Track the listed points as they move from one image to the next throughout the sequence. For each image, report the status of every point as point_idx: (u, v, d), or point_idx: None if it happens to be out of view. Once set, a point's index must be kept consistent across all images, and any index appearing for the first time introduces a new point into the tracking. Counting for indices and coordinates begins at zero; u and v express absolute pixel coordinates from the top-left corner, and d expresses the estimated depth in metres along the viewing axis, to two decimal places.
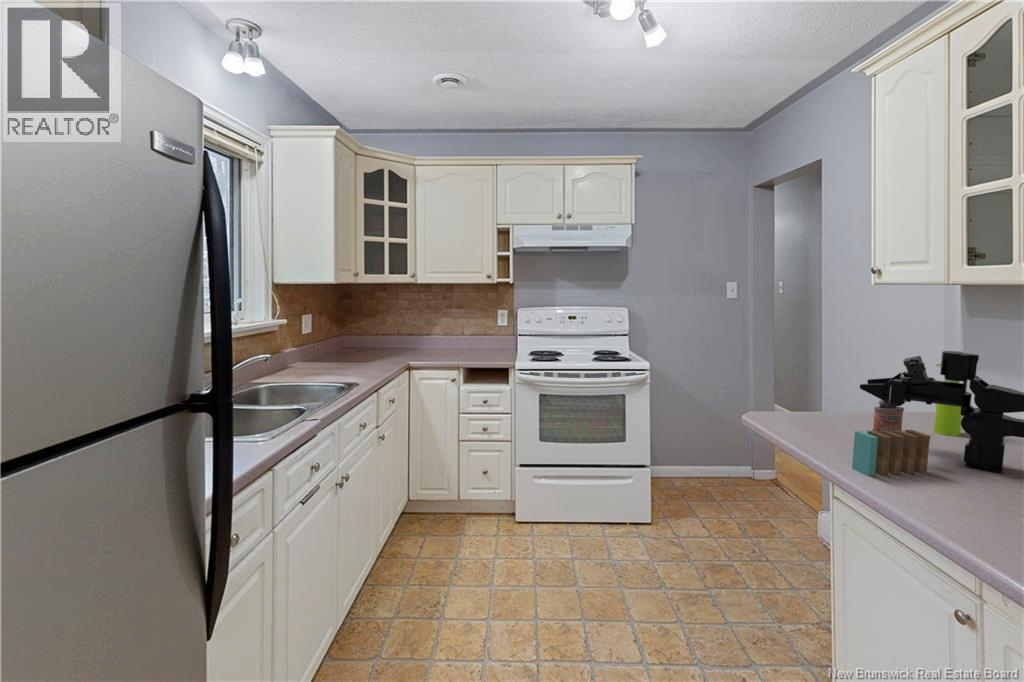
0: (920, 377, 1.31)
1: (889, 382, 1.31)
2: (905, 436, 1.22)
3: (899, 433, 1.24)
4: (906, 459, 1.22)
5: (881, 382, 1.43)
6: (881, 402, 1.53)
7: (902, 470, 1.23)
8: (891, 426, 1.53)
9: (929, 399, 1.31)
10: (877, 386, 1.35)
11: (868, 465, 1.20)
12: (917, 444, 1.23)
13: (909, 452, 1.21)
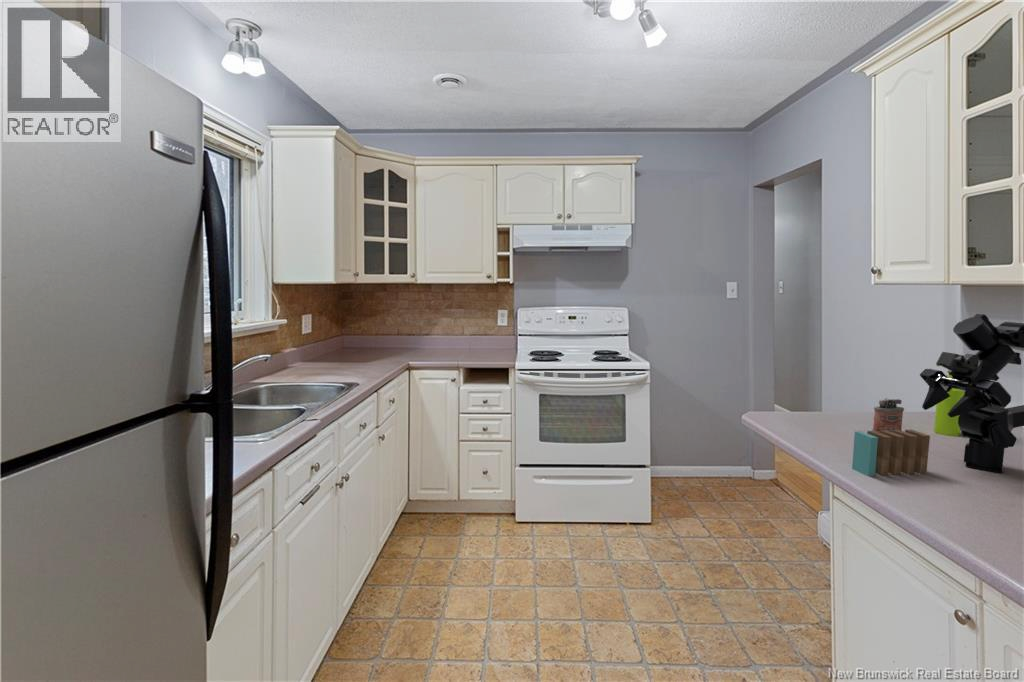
0: None
1: (978, 390, 1.17)
2: (905, 436, 1.22)
3: (899, 433, 1.24)
4: (906, 459, 1.22)
5: (932, 398, 1.27)
6: (881, 402, 1.53)
7: (902, 470, 1.23)
8: (891, 426, 1.53)
9: (995, 375, 1.21)
10: (965, 402, 1.19)
11: (868, 465, 1.20)
12: (917, 444, 1.23)
13: (909, 452, 1.21)
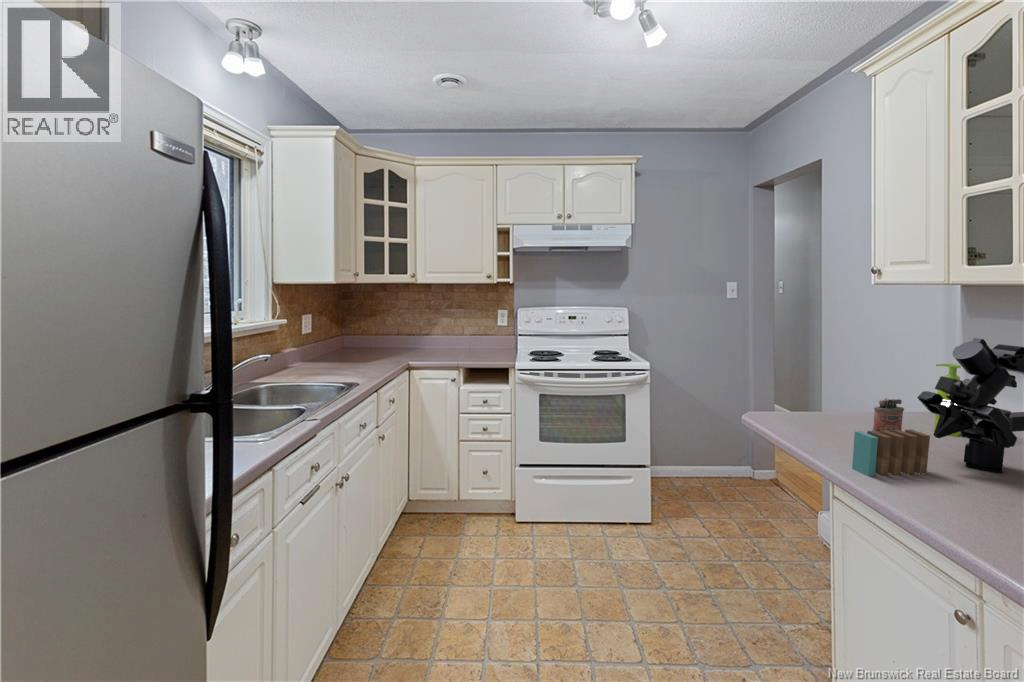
0: None
1: (964, 412, 1.20)
2: (905, 436, 1.22)
3: (899, 433, 1.24)
4: (906, 459, 1.22)
5: None
6: (881, 402, 1.53)
7: (902, 470, 1.23)
8: (891, 426, 1.53)
9: (992, 399, 1.22)
10: (952, 424, 1.22)
11: (868, 465, 1.20)
12: (917, 444, 1.23)
13: (909, 452, 1.21)
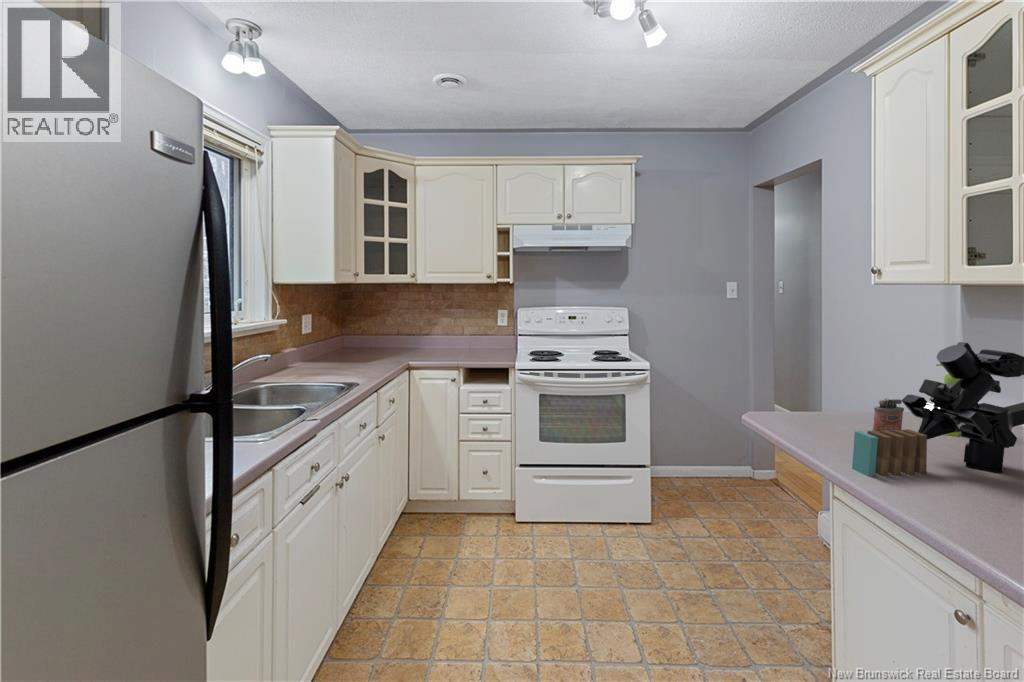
0: None
1: (947, 416, 1.20)
2: (905, 436, 1.22)
3: (899, 433, 1.24)
4: (906, 459, 1.22)
5: None
6: (881, 402, 1.53)
7: (902, 470, 1.23)
8: (891, 426, 1.53)
9: (976, 403, 1.21)
10: (934, 427, 1.22)
11: (868, 465, 1.20)
12: None
13: (909, 452, 1.21)
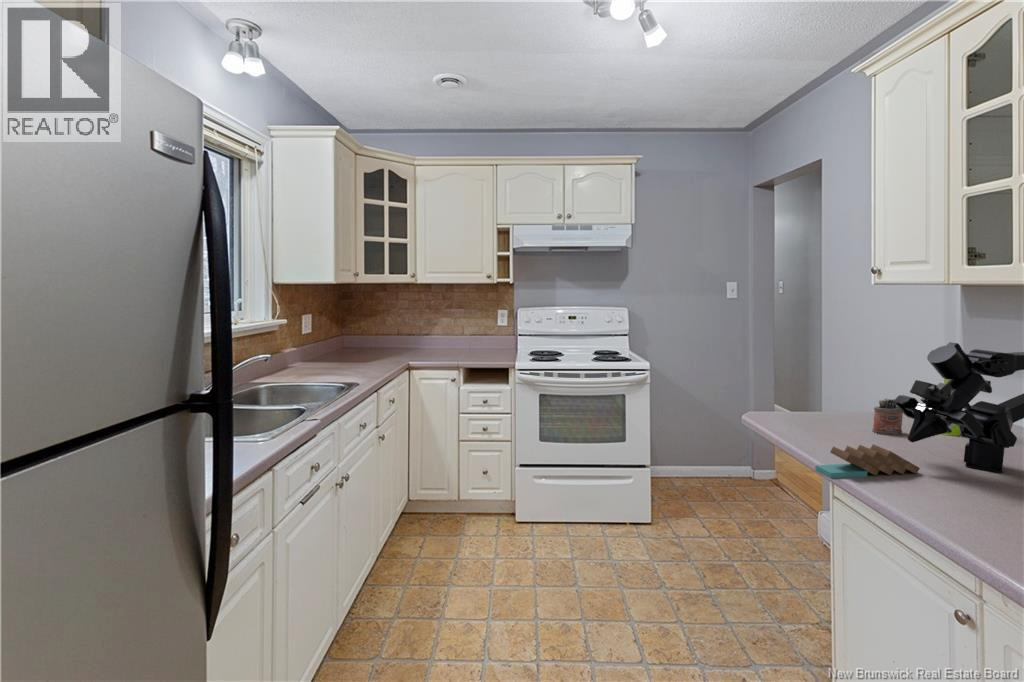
0: None
1: (938, 417, 1.20)
2: None
3: None
4: None
5: None
6: (881, 402, 1.53)
7: (896, 471, 1.23)
8: (891, 426, 1.53)
9: (967, 404, 1.21)
10: (925, 428, 1.22)
11: None
12: None
13: None
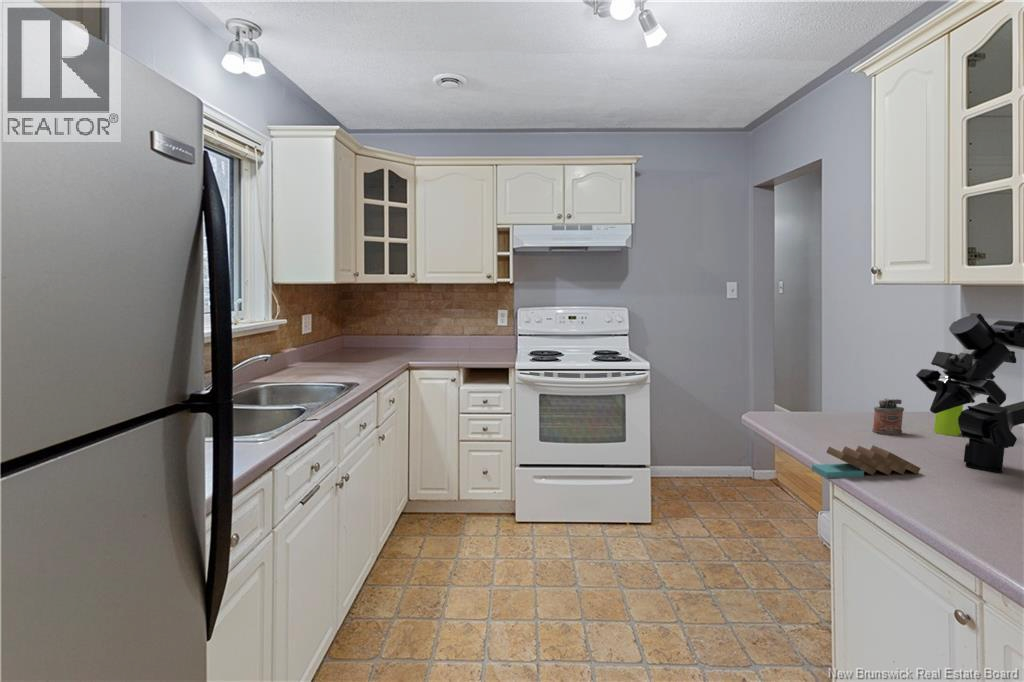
0: None
1: (959, 386, 1.20)
2: None
3: None
4: (889, 467, 1.22)
5: None
6: (881, 402, 1.53)
7: (896, 471, 1.23)
8: (891, 426, 1.53)
9: (990, 374, 1.21)
10: (948, 398, 1.22)
11: None
12: None
13: None
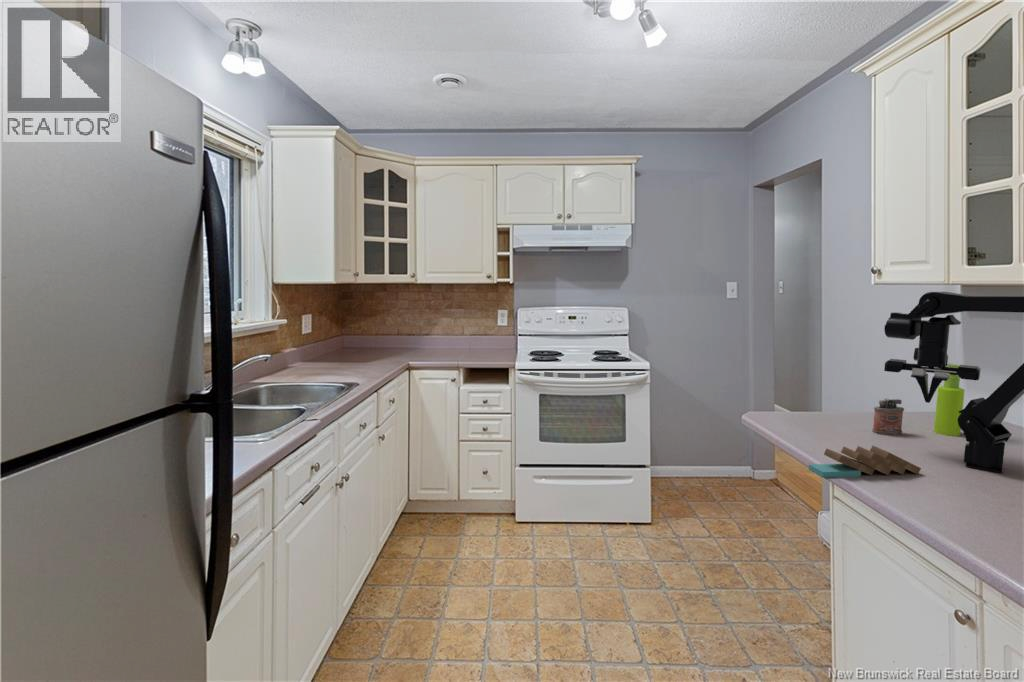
0: None
1: None
2: None
3: None
4: None
5: None
6: (881, 402, 1.53)
7: (896, 471, 1.23)
8: (891, 426, 1.53)
9: None
10: None
11: None
12: None
13: (884, 465, 1.21)
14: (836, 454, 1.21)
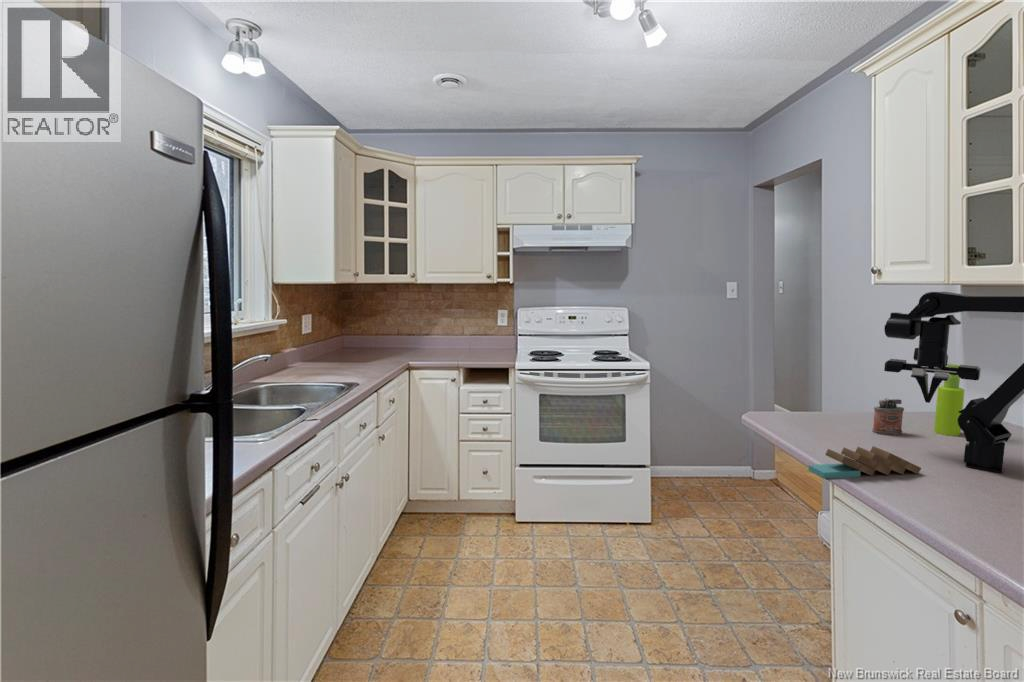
0: None
1: None
2: None
3: None
4: None
5: None
6: (881, 402, 1.53)
7: (896, 471, 1.23)
8: (891, 426, 1.53)
9: None
10: None
11: None
12: None
13: None
14: (839, 455, 1.20)
